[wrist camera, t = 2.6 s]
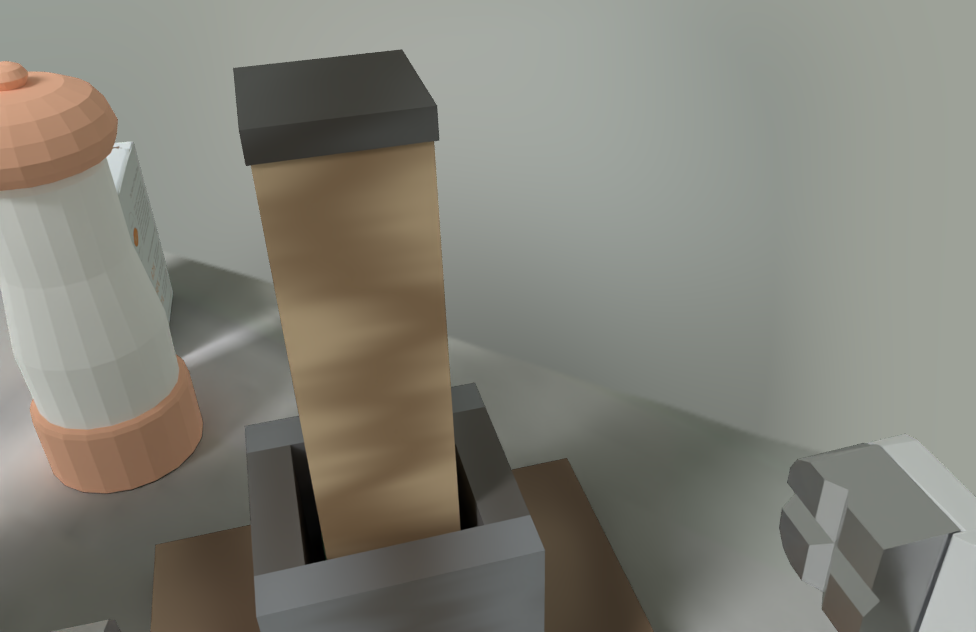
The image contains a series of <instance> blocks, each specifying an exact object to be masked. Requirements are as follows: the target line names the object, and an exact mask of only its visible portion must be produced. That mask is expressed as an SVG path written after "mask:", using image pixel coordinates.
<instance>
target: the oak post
mask: <svg viewBox="0 0 976 632" xmlns="http://www.w3.org/2000/svg"><path fill="white" fill-rule="evenodd" d="M233 71H234V81H235V93H236V103H237V114H238V125H239V133H240V138H241V144H242V149H243V154H244V159H245V164H246V166H249V165H251V169H252V174H253V179H254V184H255V190H256V194H257V200H258V205H259V210H260V215H261V221H262V226H263V231H264V236H265V241H266V247H267V252H268V257H269V262H270V267H271V272H272V278H273V283H274V288H275V293H276V298H277V304H278V309H279V314H280V319H281V324H282V330H283V335H284V340H285V345H286V350H287V356H288V361H289V366H290V371H291V376H292V381H293V387H294V392H295V397H296V402H297V407H298V413H299V418H300V423H301V428H302V433H303V439H304V444H305V449H306V454H307V459H308V464H309V470H310V475H311V480H312V485H313V490H314V496H315V501H316V506H317V511H318V516H319V522H320V527H321V532H322V533H321V536H322V543H323V550H324V556H325V560H330V559H334V558H339V557H343V556H348V555H352V554H357V553H361V552H366V551H370V550H375V549H379V548H384V547H388V546H393V545H397V544H402V543H406V542H411V541H415V540H420V539H424V538H429V537H433V536H438V535H442V534H447V533H451V532H456V531H460V530H461V529H460V515H459V500H458V485H457V471H456V456H455V441H454V426H453V412H452V397H451V382H450V368H449V353H448V338H447V324H446V309H445V294H444V280H443V265H442V250H441V236H440V221H439V208H438V207H439V206H438V192H437V177H436V163H435V148H434V141H438V140H439V130H438V129H439V128H438V113H437V105H436V103H435V102H434V100H433V98H432V97H431V95H430V94H429V92H428V90H427V89H426V87H425V86H424V84H423V82H422V81H421V79H420V78H419V76H418V74H417V73H416V71H415V70H414V68H413V66H412V65H411V63H410V62H409V60H408V58H407V57H406V55H405V54H404V52H403V50H394V51H385V52H375V53H366V54H357V55H348V56H339V57H331V58H321V59H312V60H303V61H295V62H285V63H276V64H267V65H257V66H248V67H239V68H233Z"/></svg>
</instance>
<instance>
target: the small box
mask: <svg viewBox="0 0 976 632" xmlns="http://www.w3.org/2000/svg"><path fill="white" fill-rule="evenodd" d="M106 158H107V161H108V164H109V168H110V171H111V174H112V178H113V181H114V184H115V188H116V191H117V194H118V198H119V201H120V204H121V208H122V211H123V214H124V218H125V221H126V224H127V228H128V231H129V235H130V238H131V241H132V244H133V246H134V248H135V250H136V252H137V254H138V256H139V258H140V260H141V262H142V264H143V266H144V268H145V271H146V273H147V275H148V277H149V279H150V281H151V283H152V285H153V287H154V289H155V291H156V293H157V295H158V297H159V299H160V301H161V303H162V305H163V307H164V309H165V312H166V316H167V320H168V324H169V322H170V314H171V305H172V298H173V290H172V286H171V282H170V278H169V274H168V270H167V266H166V262H165V258H164V254H163V250H162V247H161V242H160V239H159V235H158V231H157V227H156V223H155V220H154V216H153V212H152V209H151V205H150V201H149V197H148V194H147V190H146V187H145V183H144V179H143V175H142V171H141V167H140V164H139V160H138V156H137V152H136V148H135V144H134V142H120V143H114V146H113V149H112V151H111V153H110V154H109V155H108V156H107V157H106Z"/></svg>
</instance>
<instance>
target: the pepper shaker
mask: <svg viewBox="0 0 976 632" xmlns="http://www.w3.org/2000/svg"><path fill="white" fill-rule="evenodd" d="M117 124H118V119H117V117H116V116H115V114H114V112H113V110H112V109H111V107H110V105H109V104H108V102H107V100H106V99H105V97H104V96H103V95H102V94H101V93H100V92H99V91H97V90H96V89H95V88H94V87H93V86H92V85H91V84H90V83H88V82H86V81H83V80H81V79H79V78H74V77H70V76H65V75H60V74H55V73H48V72H27V70H26V69H25V68H23V67H22V66H21V65H20V64H18V63H13V62H9V61H3V62H0V288H1V293H2V298H3V303H4V309H5V314H6V319H7V324H8V330H9V335H10V340H11V345H12V350H13V354H14V357H15V359H16V362H17V364H18V366H19V368H20V371H21V373H22V375H23V377H24V380H25V382H26V384H27V386H28V388H29V391H30V393H31V395H32V397H33V400H32V402H31V406H30V413H31V417H32V422H33V424H34V427H35V429H36V432H37V434H38V437H39V439H40V441H41V444H42V446H43V449H44V451H45V454H46V456H47V458H48V461H49V463H50V466H51V468H52V471H53V473H54V475H55V476H56V477H57V478H58V479H59V480H60V481H61V482H62V483H63V484H64V485H65V486H68V487H71V488H73V489H76V490H79V491H82V492H90V493H112V492H118V491H125V490H131V489H134V488H137V487H139V486H142V485H145V484H148V483H150V482H153V481H156V480H158V479H159V478H161V477H163V476H164V475H166V474H168V473H169V472H171V471H173V470H174V469H176V468H178V467H179V466H180V465H181V464H182V463H183V462H184V461H185V460H186V459H187V458H188V457H189V456H190V455H191V454H192V453H193V452H194V450H195V448H196V446H197V445H198V443H199V441H200V439H201V438H202V429H203V421H202V417H201V413H200V410H199V406H198V402H197V399H196V395H195V391H194V388H193V384H192V380H191V377H190V373H189V371H188V369H187V366H186V364H185V362H184V360H183V359H181V358H180V357H179V356H178V355H176V353H175V349H174V345H173V341H172V337H171V333H170V328H169V324H168V320H167V316H166V312H165V309H164V307H163V305H162V303H161V301H160V299H159V297H158V295H157V293H156V291H155V289H154V287H153V285H152V283H151V281H150V279H149V277H148V275H147V273H146V271H145V268H144V266H143V264H142V262H141V260H140V258H139V256H138V254H137V252H136V250H135V248H134V246H133V244H132V241H131V238H130V235H129V231H128V228H127V224H126V221H125V218H124V214H123V211H122V208H121V204H120V201H119V198H118V194H117V191H116V188H115V184H114V181H113V178H112V174H111V171H110V168H109V164H108V161H107V158H106V157H107V156H108V155H109V154H110V153H111V151H112V149H113V146H114V143H115V139H116V135H117Z"/></svg>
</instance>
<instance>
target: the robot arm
mask: <svg viewBox="0 0 976 632" xmlns="http://www.w3.org/2000/svg"><path fill="white" fill-rule="evenodd" d="M787 483H788V484H789V486H790V487H791V488H792V490H793V491H794V492H795V494H794V495H793V496H792V497H791V498H790V500H789V501H788V502H787V503H786V504H785V505H784V506H783V508H782V512H781V519H780V526H779V529H780V534H781V539H782V544H783V549H784V551H785V553H786V555H787V557H788V560H789V562H790V564H791V566H792V567H793V569H794V570H795V571H796V573H797V574H798V576H799V577H800V579H801V580H802V581H804V582H806V583H807V584H809V585H811V586H813V587H815V588H817V589H819V590H821V591H823V597H822V610H823V611H824V613H825V614H826V616H827V617H828V618H829V620H830V621H831V622H832V624H833V625H834V627H835V628H836V629H837V631H838V632H976V496H975V495H974V494H973V493H972V492H971V491H970V490H969V489H968V488H967V487H966V486H965V485H964V484H962V482H960V481H959V480H958V479H957V478H956V477H955V476H954V475H953V474H952V473H951V472H950V471H949V470H948V469H947V468H946V467H945V466H944V465H943V464H942V463H941V462H940V461H939V460H938V459H937V458H936V457H935V456H934V455H933V454H932V453H931V452H930V451H929V450H928V449H927V448H926V447H925V446H924V445H923V444H922V443H920V442H919V441H918V440H917V439H916V438H914V437H912V436H910V435H907V434H902V435H897V436H893V437H889V438H885V439H880V440H877V441H872V442H869V443H861V444H857V445H853V446H850V447H845V448H841V449H837V450H833V451H829V452H825V453H821V454H817V455H812V456H808V457H804V458H800V459H797V460H796V461H795V462H794V464H793V465H792V466H791V467H790V471H789V476H788V481H787ZM50 632H121V631H120V629H119V627H118V625H117V623H116V621H115V620H109V619H108V620H104V621H99V622H94V623H89V624H84V625H79V626H75V627H70V628H65V629H60V630H55V631H50Z"/></svg>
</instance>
